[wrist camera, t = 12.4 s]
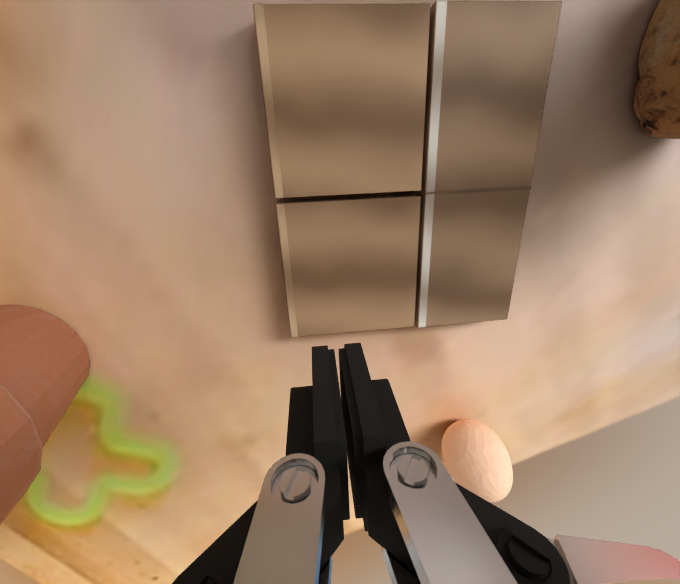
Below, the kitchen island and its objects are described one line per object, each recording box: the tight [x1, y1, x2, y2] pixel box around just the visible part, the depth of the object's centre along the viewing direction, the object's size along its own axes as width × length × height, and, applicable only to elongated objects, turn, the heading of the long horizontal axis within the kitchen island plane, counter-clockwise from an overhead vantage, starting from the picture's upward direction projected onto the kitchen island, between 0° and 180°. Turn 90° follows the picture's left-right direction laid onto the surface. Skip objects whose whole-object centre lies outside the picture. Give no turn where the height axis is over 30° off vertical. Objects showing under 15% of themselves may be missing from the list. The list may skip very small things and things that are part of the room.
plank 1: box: [253, 4, 431, 198], centre depth 20 cm, size 10×10×2 cm
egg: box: [441, 419, 513, 502], centre depth 30 cm, size 6×6×8 cm
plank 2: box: [276, 194, 421, 337], centre depth 24 cm, size 10×10×2 cm
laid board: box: [414, 1, 562, 327], centre depth 23 cm, size 21×8×2 cm, turn 3°
